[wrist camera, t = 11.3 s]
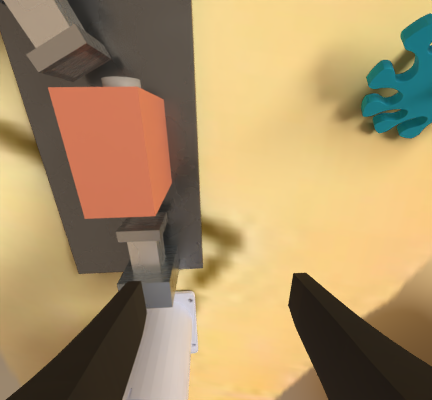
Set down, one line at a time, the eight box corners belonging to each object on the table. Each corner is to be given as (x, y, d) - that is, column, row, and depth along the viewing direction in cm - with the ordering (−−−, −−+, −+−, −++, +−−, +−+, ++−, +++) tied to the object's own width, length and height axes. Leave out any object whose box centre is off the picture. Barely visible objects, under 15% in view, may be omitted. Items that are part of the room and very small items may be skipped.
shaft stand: (202, 261, 20) (202, 308, 15) (84, 266, 20) (43, 317, 15) (187, -97, 11) (174, -271, 6) (-29, -105, 11) (-234, -303, 6)
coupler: (172, 192, 17) (157, 229, 11) (127, 194, 16) (88, 232, 11) (162, 86, 14) (134, 64, 8) (107, 86, 14) (41, 64, 8)
